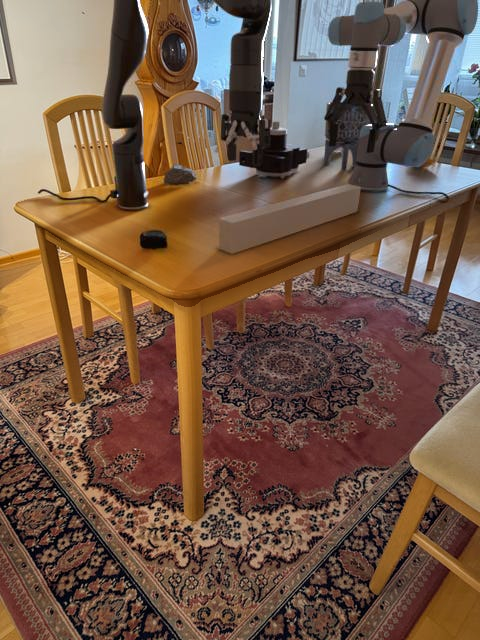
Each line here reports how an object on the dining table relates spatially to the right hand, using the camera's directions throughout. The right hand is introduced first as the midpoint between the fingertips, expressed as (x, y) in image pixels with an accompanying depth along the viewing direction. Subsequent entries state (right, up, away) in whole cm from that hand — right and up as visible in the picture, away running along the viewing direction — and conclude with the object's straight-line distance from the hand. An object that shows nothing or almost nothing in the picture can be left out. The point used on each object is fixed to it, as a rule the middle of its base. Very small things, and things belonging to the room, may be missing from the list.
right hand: (350, 149), depth 138 cm
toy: (+52, +21, +78) cm, 96 cm away
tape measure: (-56, -33, -20) cm, 68 cm away
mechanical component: (-16, +12, +59) cm, 62 cm away
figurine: (+21, +39, +108) cm, 116 cm away
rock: (-57, +2, +41) cm, 70 cm away
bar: (-17, -25, -4) cm, 30 cm away
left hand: (-33, -14, -28) cm, 45 cm away
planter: (+14, +19, +73) cm, 77 cm away
